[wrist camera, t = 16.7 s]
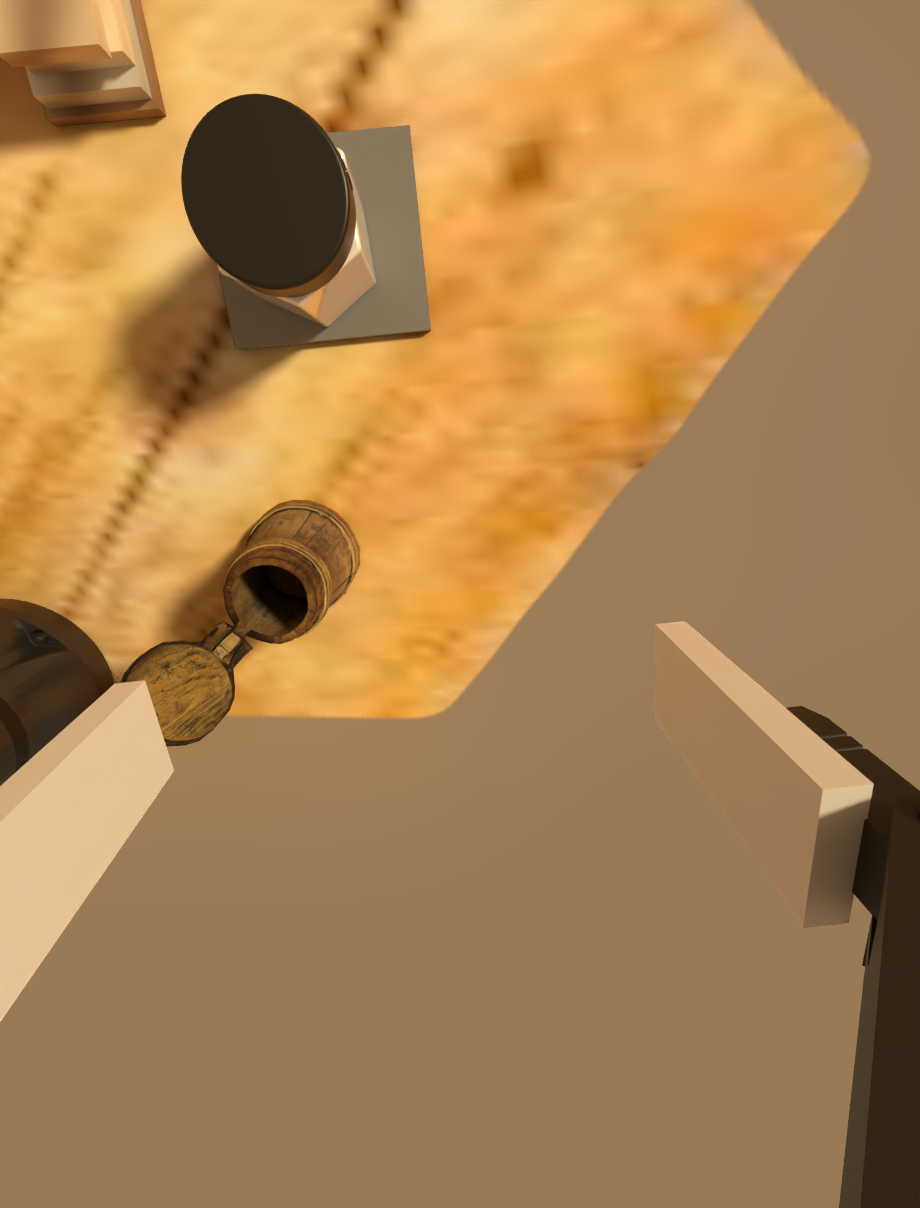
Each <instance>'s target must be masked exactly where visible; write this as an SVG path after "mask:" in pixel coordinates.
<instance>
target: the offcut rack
mask: <svg viewBox="0 0 920 1208" xmlns="http://www.w3.org/2000/svg"><path fill="white" fill-rule="evenodd" d="M0 58H2V59H3V60H4V61H5V62H7V63H8V64H9V65H10V66H12V67H13V68H16V67H25V70H26V74H27V77H28V81H29V84H30V88H31V91H32V95H33V97H34V98H36V99H37V100H38V101H39V102H41V103H42V104H43V107H44V111H45V115H46V118H47V120H49V121H50V122H51V123H53V124H54V125H55V126H66V125H76V124H87V123H97V122H108V121H118V120H129V119H139V118H150V117H160V116H166V114H165V109H164V105H163V100H162V96H161V91H160V86H159V82H158V77H157V73H156V68H155V64H154V59H153V55H152V50H151V46H150V41H149V37H148V32H147V28H146V23H145V19H144V14H143V10H142V5H141V1H140V0H0Z"/></svg>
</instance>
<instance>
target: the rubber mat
mask: <svg viewBox="0 0 920 1208" xmlns="http://www.w3.org/2000/svg"><path fill="white" fill-rule="evenodd" d="M327 134H328V136H329V137H330V139H331V140H332V142H333V143H334V145H335V147H337V148H339V149H341V150H342V151H343V152H344V154H345V157H346V160H347V163H348V166H349V168H350V171H351V174H352V177H353V180H354V183H355V186H356V189H357V192H358V195H359V198H360V201H361V203H362V206H363V209H364V215H365V221H366V227H367V232H368V238H369V244H370V250H371V256H372V261H373V267H374V273H375V279H376V283H375V285H374V286H372V287H371V288H370V289H369V290H368V291H367V292H366V293H365V294H364V295H362V296H361V297H360V298H359V299H358V300H357V301H356V302H355V303H354V304H353V305H351V306H350V307H349V308H348V309H347V310H346V311H345V312H344V313H343V314H342V315H341V316H339V317H338V318H337V319H336V320H335V321H334V322H333V323H332V324H331V325H330V326H328V327H326V326H323V325H321V324H318V323H316V322H314V321H311V320H309V319H307V318H304V317H302V316H300V315H297V314H295V313H293V312H290V311H288V310H286V309H283V308H281V307H279V306H276V305H274V304H272V303H269V302H267V301H265V300H264V299H262V298H260V297H259V296H257V295H256V294H254V293H252V292H251V291H249V290H248V289H246V288H244V287H243V286H241V285H239V284H238V283H236V282H235V281H233V280H231V279H230V278H228V277H226V276H225V275H223V274H222V273H221V272H220V271H219V274H220V279H221V283H222V288H223V293H224V298H225V302H226V307H227V312H228V317H229V321H230V326H231V331H232V335H233V340H234V345H235V349H236V350H247V349H257V348H267V347H277V346H287V345H296V344H306V343H316V342H326V341H336V340H346V339H356V338H366V337H375V336H385V335H395V334H405V333H415V332H425V331H431V328H430V318H429V308H428V299H427V289H426V279H425V270H424V260H423V250H422V241H421V231H420V221H419V212H418V202H417V193H416V183H415V173H414V164H413V154H412V144H411V135H410V125H407V126H396V127H386V128H375V129H365V130H355V131H344V132H334V133H327Z"/></svg>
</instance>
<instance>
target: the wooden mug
mask: <svg viewBox="0 0 920 1208" xmlns="http://www.w3.org/2000/svg"><path fill="white" fill-rule="evenodd" d="M359 565H360V548H359V545H358V543H357V540H356V538H355V535H354V533H353V532H352V530H351V529H350V527H349V525H348V524H347V523H346V522H345V521H344V520H343V519H342V518H341V517H340V516H339V515H338V514H337V513H336V512H334V511H333V510H331V509H329V508H328V507H326V506H324V505H322V504H318V503H315V502H312V501H308V500H292V501H288V502H284V503H279V504H278V505H276V506H275V507H273V508H272V509H270V510H269V511H268V512H267V513H266V514H265V515H264V516H263V517H262V518H261V519H260V521H259V522H258V523H257V524H256V525H255V527H254V528H253V530H252V531H251V533H250V535H249V538H248V541H247V544H246V547H245V549H244V550H243V551H242V552H241V553H239V554H238V556H237V557H236V558H235V559H234V561H233V562H232V563H231V565H230V567H229V569H228V571H227V574H226V577H225V580H224V587H223V593H224V601H225V607H226V609H227V612H228V614H229V617H230V619H231V620H232V622H233V624H234V626H231V625H229V624H228V623H226V622H224V621H222V622H221V623H220V624H218V625H217V626H216V627H215V628H214V629H213V630H212V631H211V632H210V633H209V634H208V635H207V636H206V637H205V638H204V639H203V640H202V641H201V642H189V641H173V642H163V643H161V644H159V645H157V646H155V647H153V648H151V649H150V650H148V651H147V652H145V653H144V654H142V655H141V656H140V657H139V658H138V659H136V660H135V661H134V662H133V663H132V664H131V666H130V667H129V668H128V670H127V671H126V672H125V673H124V675H123V678H122V680H121V683H125V682H134V681H143V680H145V681H146V685H147V688H148V691H149V694H150V697H151V700H152V703H153V707H154V710H155V713H156V716H157V719H158V722H159V725H160V729H161V732H162V735H163V738H164V741H165V744H166V746H181V745H187V744H191V743H194V742H197V741H200V740H201V739H202V738H203V737H205V736H206V735H207V734H208V733H209V732H211V731H212V730H213V729H214V728H215V727H216V726H217V724H218V723H219V722H220V721H221V720H222V719H223V718H224V716H225V715H226V714H227V713H228V711H229V710H230V708H231V705H232V703H233V700H234V695H235V684H234V672H233V668H234V667H235V666H236V664H237V663H238V662H239V661H240V660H241V659H242V658H243V657H244V656H245V655H246V654H247V653H248V652H249V651H250V650H252V649H253V648H252V647H251V645H250V644H249V643H248V642H247V641H246V640H245V639H244V638H245V637H246V636H249V637H252V638H254V639H257V640H260V641H264V642H267V643H275V644H282V643H285V642H288V641H291V640H293V639H296V638H299V637H301V636H303V635H305V634H307V633H309V632H310V631H311V630H313V629H314V628H315V627H316V625H317V624H318V623H319V622H320V621H321V620H322V619H323V617H324V616H325V614H326V612H327V610H328V608H329V607H331V606H332V605H334V604H335V603H336V602H337V601H338V600H339V599H340V598H341V597H342V596H343V595H344V594H345V592H346V591H347V589H348V587H349V586H350V584H351V582H352V580H353V578H354V576H355V574H356V572H357V570H358V568H359Z"/></svg>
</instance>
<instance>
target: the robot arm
mask: <svg viewBox="0 0 920 1208" xmlns="http://www.w3.org/2000/svg"><path fill="white" fill-rule="evenodd" d="M654 664H655V666H654V710H653V717H654V719H655V720H656V722H657V723H658V725H659V726H660V727H661V729H662V730H663V732H664V733H665V734H666V736H667V737H668V739H669V740H670V741H671V743H672V744H673V746H674V747H675V748H676V750H677V751H678V753H679V754H680V755H681V757H682V758H683V760H684V761H685V763H686V764H687V765H688V767H689V768H690V770H691V771H692V772H693V774H694V775H695V777H696V778H697V779H698V781H699V782H700V784H701V785H702V786H703V788H704V789H705V791H706V792H707V794H708V795H709V796H710V798H711V799H712V801H713V802H714V803H715V805H716V806H717V808H718V809H719V810H720V812H721V813H722V815H723V816H724V817H725V819H726V820H727V822H728V823H729V825H730V826H731V828H732V829H733V830H734V832H735V833H736V835H737V836H738V837H739V839H740V840H741V841H742V843H743V844H744V846H745V847H746V849H747V850H748V851H749V853H750V854H751V856H752V857H753V859H754V860H755V861H756V863H757V864H758V866H759V867H760V868H761V870H762V871H763V872H764V874H765V875H766V877H767V878H768V880H769V881H770V882H771V884H772V885H773V887H774V888H775V890H776V891H777V892H778V894H779V895H780V897H781V898H782V899H783V901H784V902H785V904H786V905H787V906H788V908H789V909H790V911H791V912H792V913H793V915H794V916H795V918H796V919H797V921H798V922H799V923H800V925H801V926H802V928H809V927H817V926H825V925H834V924H843V923H849V918H850V913H851V907H852V902H853V896H854V894H855V896H856V897H857V898H858V899H859V900H860V901H861V902H862V904H863V905H864V906H865V907H866V908H867V909H868V911H869V912H870V913H871V914H872V918H871V923H870V929H869V934H868V939H867V944H866V949H865V954H864V959H863V964H862V965H863V966H865V973H864V982H863V991H862V1001H861V1010H860V1019H859V1028H858V1038H857V1047H856V1056H855V1065H854V1075H853V1083H852V1093H851V1102H850V1111H849V1120H848V1129H847V1139H846V1148H845V1157H844V1167H843V1176H842V1185H841V1194H840V1203H839V1208H920V791H919V790H918V789H916V788H915V787H914V786H913V785H911V784H910V783H909V782H908V781H906V780H905V779H904V778H903V777H901V776H900V775H899V774H898V773H896V772H895V771H894V770H893V769H891V768H890V767H889V766H888V765H886V764H885V763H884V762H883V761H881V760H880V759H879V758H877V757H876V756H875V755H874V754H872V753H871V752H870V751H869V750H867V749H863V746H862V745H861V744H860V743H859V742H857V741H856V740H855V739H854V738H852V737H851V736H847V733H846V732H845V731H843V730H842V729H841V728H840V727H838V726H837V725H836V724H835V723H833V722H832V721H831V720H830V719H828V718H827V717H824V716H822V715H820V714H818V713H816V712H814V711H811V710H809V709H807V708H805V707H802V706H798V707H789V708H785V707H784V706H783V705H781V704H780V703H779V702H778V701H777V700H776V699H774V698H773V697H772V696H771V695H770V694H769V693H768V692H766V691H765V690H764V689H763V688H762V687H761V686H759V685H758V684H757V683H756V682H755V681H754V680H752V679H751V678H750V677H749V676H748V675H747V674H746V673H744V672H743V671H742V670H741V669H739V667H737V666H736V665H735V664H734V663H733V662H731V661H730V660H729V659H728V658H727V657H726V656H725V655H723V654H722V653H721V652H720V651H719V650H718V649H716V648H715V647H714V646H713V645H712V644H710V643H709V642H708V641H707V640H706V639H705V638H704V637H702V636H701V635H700V634H699V633H698V632H697V631H696V630H694V629H693V628H692V627H691V626H690V625H689V624H687V623H686V622H685V621H682V622H672V623H664V624H656V625H655V663H654ZM173 772H174V769H173V766H172V763H171V760H170V757H169V754H168V750H167V748H166V744H165V741H164V738H163V735H162V732H161V729H160V725H159V722H158V719H157V716H156V713H155V710H154V707H153V703H152V700H151V697H150V694H149V691H148V688H147V685H146V681H145V680H143V681H134V682H125V683H116V684H114V682H113V678H112V674H111V671H110V669H109V666H108V664H107V662H106V660H105V658H104V656H103V655H102V653H101V652H100V650H99V649H98V647H97V646H96V645H95V643H94V642H93V641H92V640H91V639H90V638H89V637H88V636H87V635H86V634H85V633H84V632H83V631H82V630H81V629H80V628H79V627H77V626H76V625H75V624H73V623H72V622H71V621H69V620H68V619H66V618H64V617H63V616H61V615H59V614H57V613H56V612H54V611H51V610H49V609H47V608H44V607H42V606H39V605H36V604H33V603H29V602H25V601H20V600H13V599H0V1021H1V1020H2V1019H3V1017H4V1016H5V1014H6V1013H7V1011H8V1010H9V1008H10V1007H11V1005H12V1004H13V1003H14V1001H15V1000H16V998H17V997H18V995H19V994H20V993H21V991H22V990H23V988H24V987H25V985H26V984H27V982H28V981H29V980H30V978H31V977H32V975H33V974H34V972H35V971H36V969H37V968H38V966H39V965H40V964H41V962H42V961H43V959H44V958H45V957H46V955H47V954H48V952H49V951H50V949H51V948H52V946H53V945H54V943H55V942H56V940H57V939H58V938H59V936H60V935H61V933H62V932H63V931H64V929H65V928H66V926H67V925H68V923H69V922H70V920H71V919H72V918H73V916H74V915H75V913H76V911H77V910H78V909H79V907H80V906H81V905H82V903H83V902H84V900H85V899H86V897H87V896H88V894H89V893H90V891H91V890H92V889H93V887H94V886H95V884H96V883H97V881H98V880H99V878H100V877H101V876H102V874H103V873H104V871H105V870H106V868H107V867H108V866H109V864H110V863H111V861H112V860H113V858H114V857H115V855H116V854H117V852H118V851H119V850H120V848H121V847H122V845H123V844H124V842H125V841H126V840H127V838H128V837H129V835H130V834H131V832H132V831H133V829H134V828H135V826H136V825H137V824H138V822H139V821H140V819H141V818H142V816H143V815H144V814H145V812H146V811H147V809H148V808H149V806H150V805H151V803H152V802H153V801H154V799H155V798H156V796H157V795H158V793H159V792H160V790H161V789H162V787H163V786H164V784H165V783H166V782H167V780H168V779H169V777H170V776H171V775H172V773H173Z"/></svg>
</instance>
